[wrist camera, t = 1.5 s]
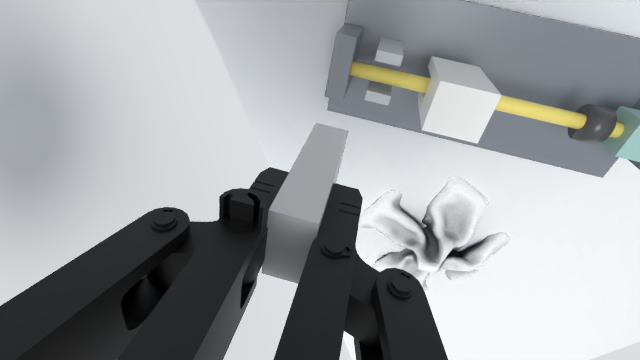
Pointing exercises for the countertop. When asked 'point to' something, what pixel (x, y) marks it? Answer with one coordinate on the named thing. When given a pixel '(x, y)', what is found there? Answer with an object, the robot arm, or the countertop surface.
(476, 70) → the white rectangular block
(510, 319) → the countertop surface
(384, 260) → the cloth
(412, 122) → the linear slide fixture
